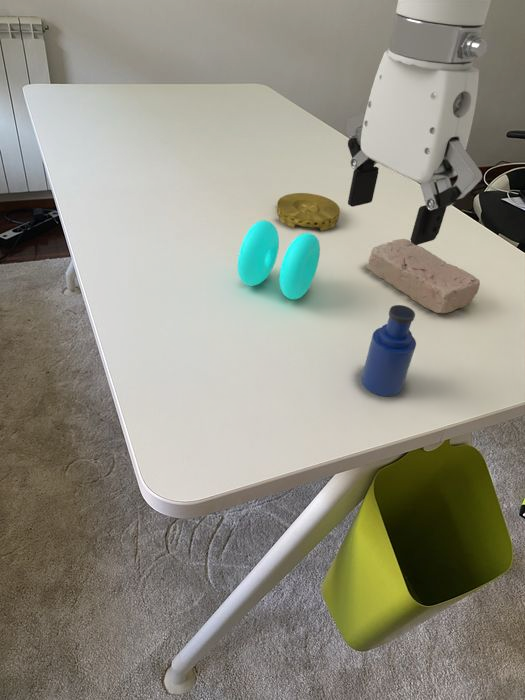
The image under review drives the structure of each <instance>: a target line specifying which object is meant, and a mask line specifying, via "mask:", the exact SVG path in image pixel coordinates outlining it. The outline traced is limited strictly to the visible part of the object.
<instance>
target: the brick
mask: <svg viewBox="0 0 525 700" xmlns="http://www.w3.org/2000/svg"><path fill="white" fill-rule="evenodd" d="M366 268H367V270H369V271H370V272H371V273H373V274H374V275H375V276H377V277H378V278H380V279H383V280H384V281H385V282H386V283H387V284H389V285H390V286H392V287H394V288H395V289H396V290H398V291H400V292H401V293H403V294H404V295H407V296H408V297H409V298H410V299H411V300H412V301H414V302H416V303H417V304H419V305H421V306H423V307H424V308H426V309H428V310H431V311H432V312H433V313H437V314H447V313H451V312H454V311H455V310H458V309H462V308H463V307H465V306H466V305H470V304H471V303H472V302H473V300H474V299H475V296H476V295H477V294H478V292H479V289H480V285H481V284H480V283H481V281H480V279H479V278H477V277H476V276H474V275H473V274H471V273H469V272H468V271H465V270H463V269H462V268H459V267H458V266H456V265H454V264H453V265H452V264H451V263H447V262H446V261H445V260H443V259H442V258H440V257H438V256H437V255H436V254H433V253H432V252H431V251H429V250H428V249H426V248H425V247H423V246H420V245H414V244H413V243H411V240H410V239H407V238H399V239H393V240H392V241H389V242H386V243H382V244H380V245H377V246H374V247H372V249H371V251H370V256H369V257H368V264H367V266H366Z"/></svg>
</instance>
